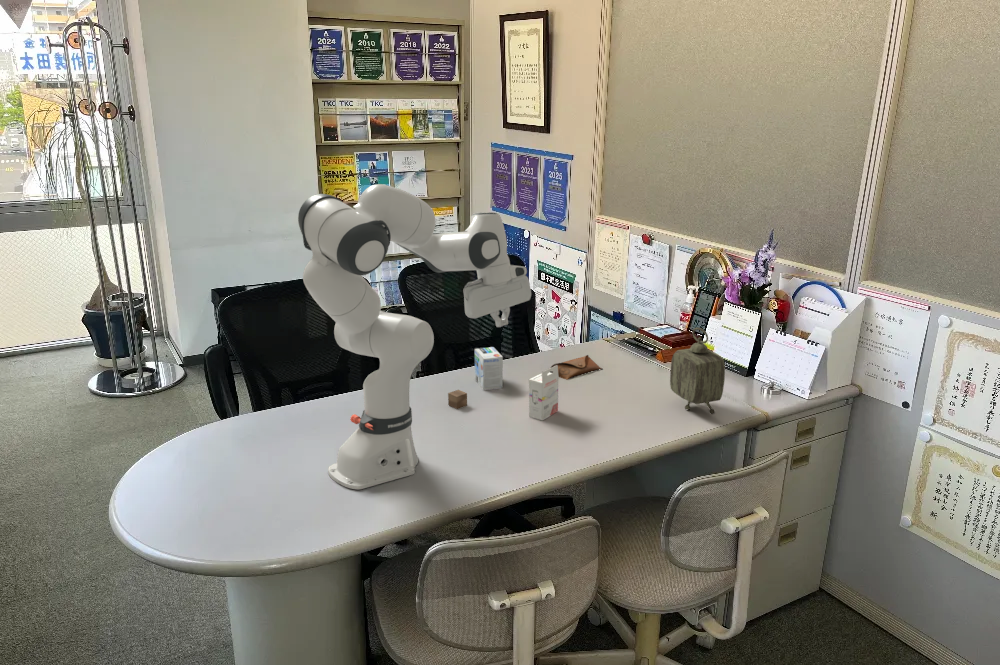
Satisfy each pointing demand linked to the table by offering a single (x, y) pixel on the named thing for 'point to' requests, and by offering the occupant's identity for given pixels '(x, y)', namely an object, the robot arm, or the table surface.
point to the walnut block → (457, 399)
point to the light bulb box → (488, 368)
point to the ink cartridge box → (543, 394)
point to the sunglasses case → (576, 367)
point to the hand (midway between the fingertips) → (502, 325)
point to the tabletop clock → (697, 374)
